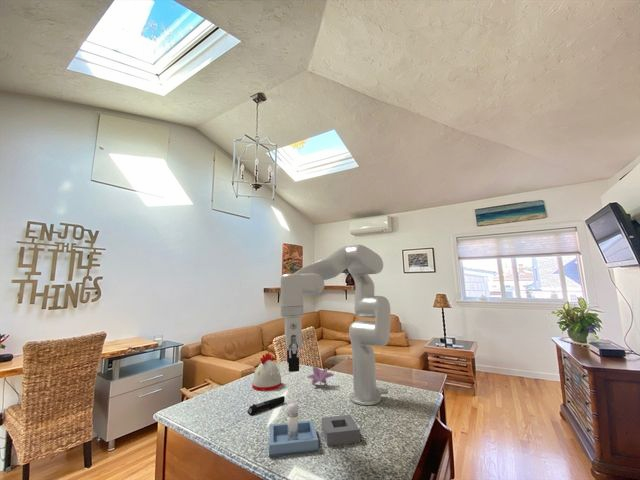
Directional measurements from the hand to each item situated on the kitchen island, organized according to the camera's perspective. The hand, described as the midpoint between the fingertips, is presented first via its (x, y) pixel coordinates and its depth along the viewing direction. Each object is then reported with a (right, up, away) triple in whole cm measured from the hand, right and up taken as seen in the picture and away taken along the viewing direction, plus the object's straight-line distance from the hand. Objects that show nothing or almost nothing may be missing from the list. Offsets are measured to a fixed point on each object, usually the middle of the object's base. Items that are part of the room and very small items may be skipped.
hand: (292, 366), depth 87 cm
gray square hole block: (+15, -22, 0) cm, 26 cm away
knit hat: (-17, -30, +45) cm, 57 cm away
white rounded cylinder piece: (0, -21, -4) cm, 21 cm away
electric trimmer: (-12, -26, +20) cm, 35 cm away
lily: (+9, -29, +42) cm, 52 cm away
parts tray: (0, -21, -4) cm, 22 cm away
